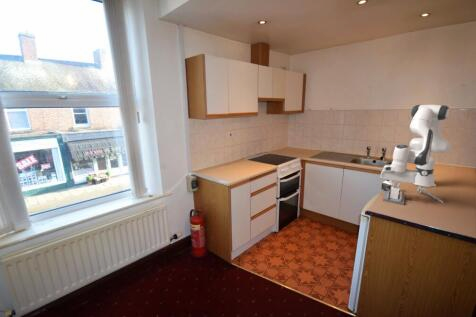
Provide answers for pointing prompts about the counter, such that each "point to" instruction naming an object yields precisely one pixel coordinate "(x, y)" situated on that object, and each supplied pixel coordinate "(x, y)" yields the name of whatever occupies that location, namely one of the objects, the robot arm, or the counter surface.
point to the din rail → (399, 198)
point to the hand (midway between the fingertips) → (395, 186)
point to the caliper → (428, 193)
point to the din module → (394, 192)
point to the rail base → (393, 198)
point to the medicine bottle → (387, 185)
